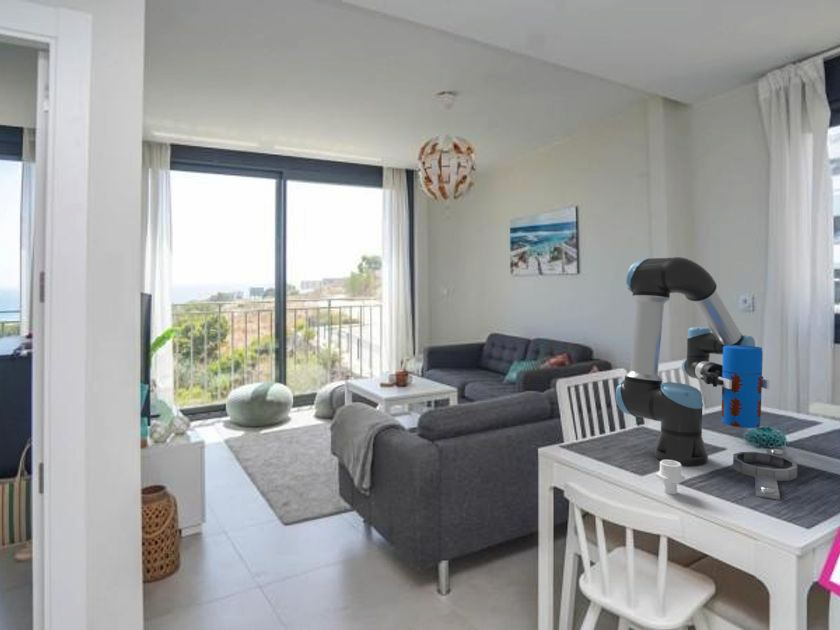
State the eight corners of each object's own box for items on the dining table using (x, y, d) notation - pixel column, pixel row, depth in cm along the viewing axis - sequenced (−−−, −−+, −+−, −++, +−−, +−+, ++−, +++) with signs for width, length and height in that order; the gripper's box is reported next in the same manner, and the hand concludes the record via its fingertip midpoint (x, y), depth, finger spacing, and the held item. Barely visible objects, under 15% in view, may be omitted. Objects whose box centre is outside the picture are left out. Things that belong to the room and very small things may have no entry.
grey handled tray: (732, 491, 135) (732, 481, 135) (733, 447, 170) (733, 439, 169) (805, 504, 127) (805, 492, 126) (790, 455, 161) (790, 446, 161)
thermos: (753, 430, 156) (755, 350, 155) (715, 423, 165) (717, 347, 163) (765, 423, 163) (767, 347, 162) (728, 417, 171) (730, 344, 170)
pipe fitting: (688, 491, 136) (688, 462, 135) (676, 499, 131) (677, 469, 131) (663, 484, 140) (664, 456, 140) (652, 492, 136) (652, 463, 135)
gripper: (744, 383, 181) (786, 396, 159) (678, 383, 182) (711, 396, 160) (745, 362, 180) (787, 372, 158) (678, 362, 181) (711, 373, 159)
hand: (749, 384), depth 159 cm, fingers closed on thermos, 11 cm apart
